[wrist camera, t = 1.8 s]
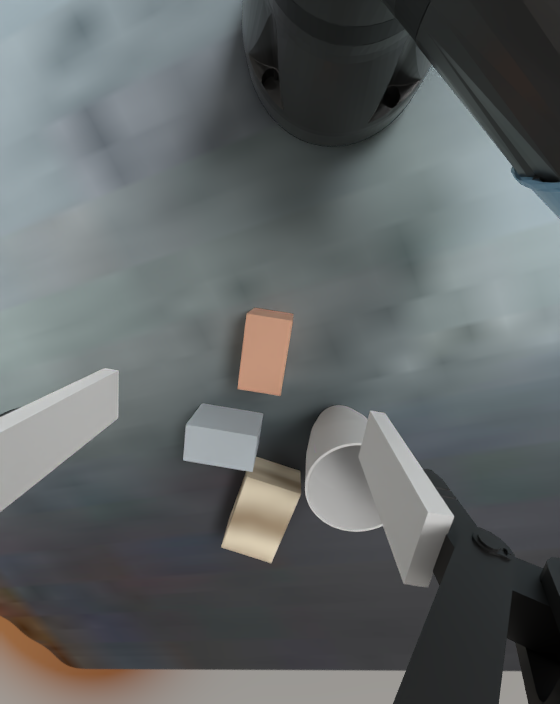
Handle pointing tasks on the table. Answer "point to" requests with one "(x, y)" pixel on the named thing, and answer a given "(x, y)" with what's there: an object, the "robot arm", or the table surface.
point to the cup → (339, 471)
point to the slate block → (223, 437)
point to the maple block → (262, 510)
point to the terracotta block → (265, 351)
